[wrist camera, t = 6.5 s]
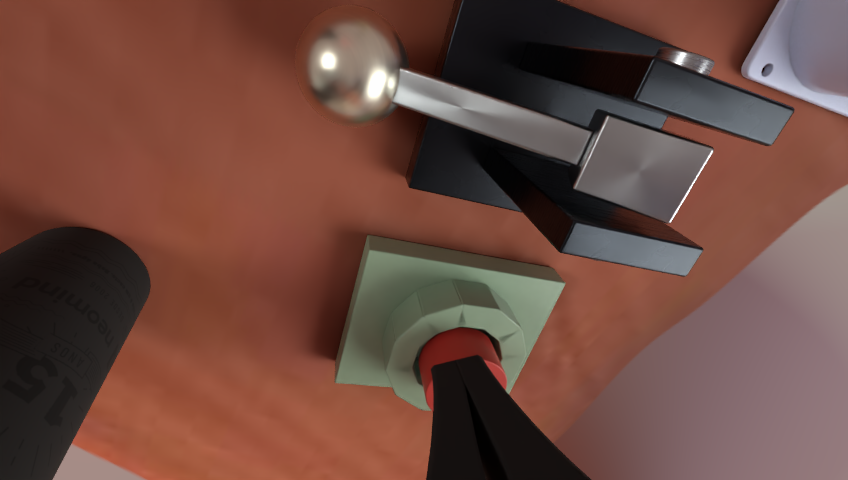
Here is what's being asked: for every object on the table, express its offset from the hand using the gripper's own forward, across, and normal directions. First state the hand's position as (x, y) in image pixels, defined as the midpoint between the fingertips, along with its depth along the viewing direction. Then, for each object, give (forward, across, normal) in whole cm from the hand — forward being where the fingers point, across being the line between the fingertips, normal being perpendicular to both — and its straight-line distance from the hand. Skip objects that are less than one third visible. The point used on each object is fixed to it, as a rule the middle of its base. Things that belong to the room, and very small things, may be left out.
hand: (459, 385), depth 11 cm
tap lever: (+6, -3, -6) cm, 9 cm away
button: (+6, -1, +5) cm, 8 cm away
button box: (+9, -1, +5) cm, 11 cm away
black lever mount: (+9, -6, -4) cm, 12 cm away
